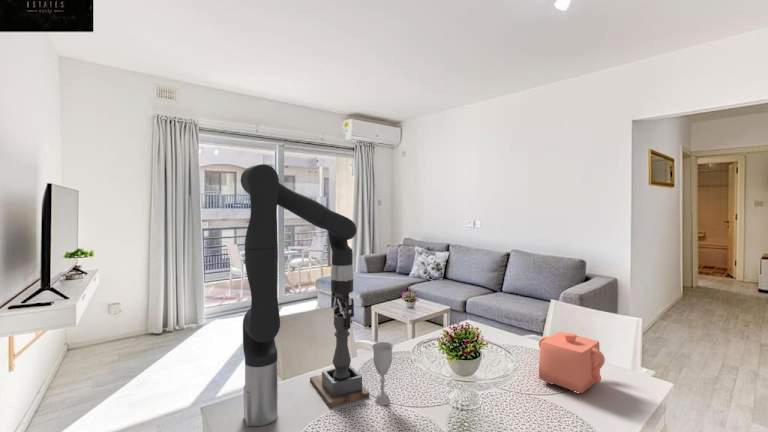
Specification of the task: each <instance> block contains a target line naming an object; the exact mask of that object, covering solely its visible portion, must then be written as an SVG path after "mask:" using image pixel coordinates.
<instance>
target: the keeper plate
mask: <svg viewBox="0 0 768 432" xmlns="http://www.w3.org/2000/svg"><path fill="white" fill-rule="evenodd" d="M309 382H310V384H311V385H312V386H313V388H314V389H315V390H316V392H317V393H318V394H319V396H320V398H322V399H323V401H324V402H325V403H326V405H327V406H328V408H333V407H336V406H341V405H344V404H348V403H351V402H356V401H360V400H363V399H367V398H370V392H369V391H368V390H367V389H366V388H365V387H364V386H363V385H362V392H358V393H354V394H350V395H346V396H342V397H338V398H334V399H333V398H332V397H331V396H330V395H329V393H328V392H327V391H326V390H325V388H324V387H323V386H322V374H320V375H315V376H310V377H309Z"/></svg>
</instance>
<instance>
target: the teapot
mask: <svg viewBox="0 0 768 432" xmlns="http://www.w3.org/2000/svg"><path fill="white" fill-rule="evenodd" d="M538 347H539V356H538V357H539V361H538V379H539V380H542V381H545V382H547V383H548V382H550V383H553V384H556V385H557V386H559V387H561V388H564V389H568V390H570V391H572V390H573V391H576V392H579V393H580V394H583V393H584V392H586V391H587V390H588V389H590V388H591V387H592V386H594V385H595V383H600V382H601V380H602V376H601V369H602V367H603V366H604V365H605V362H606V359H605V356H604V353H603V352H601V349H600V342H599V340H596V339H592V338H588V337H585V336H584V337H583V336H580V335H577V334H576V333H572V332H563V331H559V332H555V333H554V334H552V335H550V336H548V335H545V336H543V337H541V338H540V339H539V341H538ZM556 385H555V386H556ZM573 391H572V392H573ZM579 393H578V394H579Z"/></svg>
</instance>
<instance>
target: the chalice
mask: <svg viewBox="0 0 768 432" xmlns="http://www.w3.org/2000/svg"><path fill="white" fill-rule="evenodd" d="M371 348H372V350H373V364H374V367H375V370H376V371H377V373H378V374H379V375H380V376H381V378H380V380H379V381H380V385H379V387H380V391H379V392H378V393H377V394H376V397H375V399H374V402H375V403H376V404H377V405H379V406H383V405H384V406H385V405H388V404H390V403H391V399H390V396H389V394H388V393H387V392H385V387H386V385H385V382H386V379H385V376H386V375H387V374H388V372H389V369H390V367H391V364H392V362H393V349H394V344H393V343H391V342H386V341H385V342H384V341H383V342H376V343H374V344H373V345H372V347H371Z"/></svg>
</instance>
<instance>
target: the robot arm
mask: <svg viewBox="0 0 768 432" xmlns="http://www.w3.org/2000/svg"><path fill="white" fill-rule="evenodd" d="M240 184H241V187H242V188H243V191H244V192H246V193H247V194H249V201H250V203H249V204H250V214H249V215H250V217H249V221H248V226H247V229H246V234H245V240H244V265H245V272H246V276H247V281H248V286H249V289H250V290H249V291H250V297H251V299H250V300H251V301H250V302H251V303H250V304H251V305H250V308H249V309H248V310H247V311H246V312H245V314H244V316H243V321H242V343H243V344H242V349H243V355H244V386H243V419H244V421H245V425H246V427H261V426H267V425H269V424H271V423H273V422H274V421H275V420H276V419H277V418H278V410H279V409H278V408H279V406H278V349H277V346H276V342H275V341H276V340H275V338H276V337H277V336H278V333H279V332H280V328H281V318H280V310H279V302H278V301H279V299H278V278H279V277H278V273H279V271H278V267H279V266H278V264H279V262H278V261H279V251H278V250H279V247H278V243H279V242H278V220H277V216H278V215H277V211H278V209H277V208H278V206H280V207H281V208H283V209H284V210H287V211H289V212H290V213H292V214H294V215H295V216H298V217H299V218H301V219H302V220H305V221H306V222H307V223H310V224H311V225H313V226H314V227H317V228H319V229H323V230H326V231H327V232H328V240H329V245H330V249H331V269H330V292H331V295H330V296H331V301H330V308H331V309H332V311H333V316H334V315H335V314H338V313H343V317H344V318H343V328H344V329H345V330H346V329H348V330H350V329H351V324H350V318H351V319H352V318H353V317H355V308H354V306H355V305H354V304H355V303H354V302H355V301H354V300H355V299H354V298H350V293H352V292H353V291H354V266H353V265H354V264H353V256H354V255H353V254H354V253H353V249H352V248H351V247H350V246H349V243H348V241H349V240H352V239H353V238H354V237H356V234H357V232H358V231H357V226H356V223H355V222H354V221H353V220H352V219H350V218H348V217H346V216H345V215H342V214H340V213H339V212H336V211H333V210H331V209H330V208H328V207H327V206H326V205H324V204H322V203H320V202H319V201H317V200H315V199H313V198H311V197H308V196H306V195H305V194H302V193H300V192H298V191H297V192H296V191H295V190H292V189H291V188H288V187H287V186H285V185H284V184H282V183H281V182H280V178H279V174H278V172H277V171H276V169H275V168H274V167H273V166H272V165H270V164H267V163H260V164H255V165H252V166H249V167H247V168H246V169H245V170H244V171H243V172H242V173H241V175H240Z"/></svg>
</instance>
